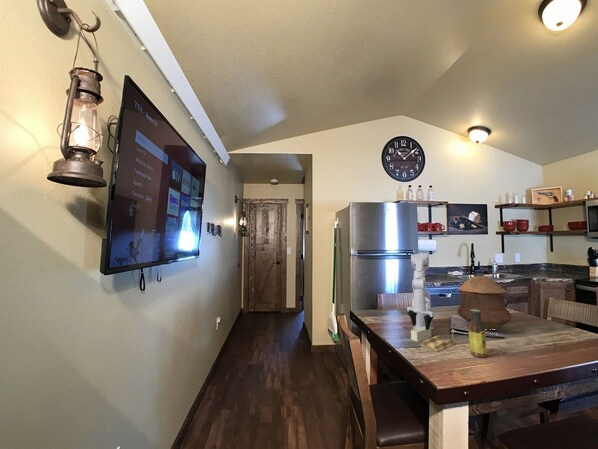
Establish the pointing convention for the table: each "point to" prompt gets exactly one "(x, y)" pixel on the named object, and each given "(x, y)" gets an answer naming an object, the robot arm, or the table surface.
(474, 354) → the sauce bottle
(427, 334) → the cream rectangular block
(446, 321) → the table surface
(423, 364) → the table surface
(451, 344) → the tan flat piece
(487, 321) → the pottery vessel
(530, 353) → the table surface
